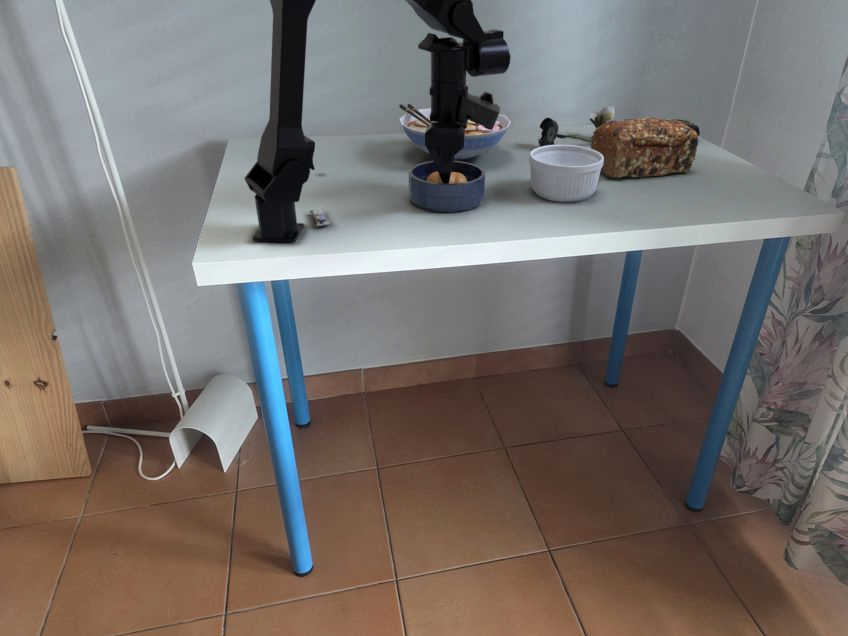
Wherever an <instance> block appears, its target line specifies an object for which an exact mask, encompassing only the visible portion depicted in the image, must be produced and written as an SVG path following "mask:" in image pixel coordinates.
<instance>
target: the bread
mask: <svg viewBox="0 0 848 636" xmlns="http://www.w3.org/2000/svg"><path fill="white" fill-rule="evenodd" d="M591 141H592V142H591V144H590V149H593V150H595V151H597V152H599V153H601V154H602V155H603V157H604V162H603V166H602V168H601V171H600V173H602V174H603V175H605V176H606V177H608V178H610V179H618V180H619V179H620V178H622V177H628V178H644V177H647V178H648V177H659V176H662V177H663V176H667V175H669V174H678V173H684V174H685V173H687V172H689V171H691V169H692V166H693V163H694V161H695V160H696V156H697V154H696V153H697V150H698V148H697V147H698V145H699V136H697V133H696V131H694V130H693V129H692V128H690V127H688V126H687V125H686V124H684V123H682V122H680V121H677V120H673V119H668V118H658V117H636V118H628V119H624V120H616V119H614V120H613V119H612V120H611V121H609V122H606V123H604V124H603V125H601V126H599V127H598V128H596V127H595V129H594V131H593V137H592V139H591Z"/></svg>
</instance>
